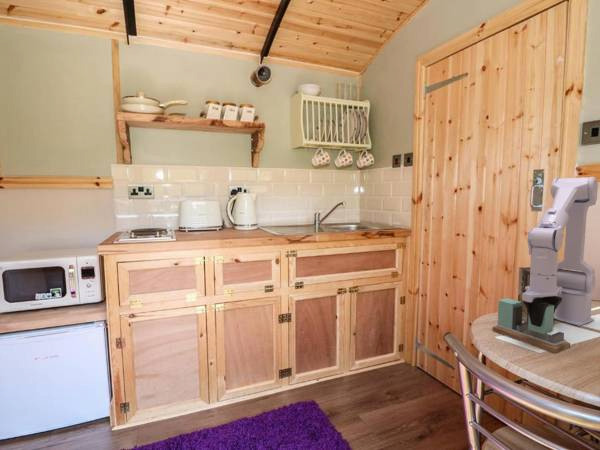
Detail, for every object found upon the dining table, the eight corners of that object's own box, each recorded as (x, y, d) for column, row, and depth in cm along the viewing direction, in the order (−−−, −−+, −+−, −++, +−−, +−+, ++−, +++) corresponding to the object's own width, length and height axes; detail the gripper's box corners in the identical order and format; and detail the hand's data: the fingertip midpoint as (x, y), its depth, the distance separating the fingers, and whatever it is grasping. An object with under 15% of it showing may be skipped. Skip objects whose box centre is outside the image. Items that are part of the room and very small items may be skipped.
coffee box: (554, 327, 99) (557, 273, 98) (530, 326, 100) (533, 273, 99) (538, 316, 108) (540, 266, 107) (516, 315, 109) (518, 266, 108)
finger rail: (507, 326, 101) (508, 296, 100) (569, 347, 86) (571, 313, 86) (492, 330, 97) (493, 300, 97) (555, 353, 83) (556, 318, 82)
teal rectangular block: (552, 331, 88) (554, 305, 88) (544, 334, 87) (545, 307, 86) (534, 325, 92) (535, 300, 92) (525, 328, 91) (526, 302, 90)
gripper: (542, 267, 95) (540, 314, 96) (511, 273, 88) (509, 324, 89) (571, 272, 88) (568, 322, 90) (540, 279, 82) (538, 333, 83)
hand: (541, 323), depth 89 cm, fingers closed on teal rectangular block, 4 cm apart
